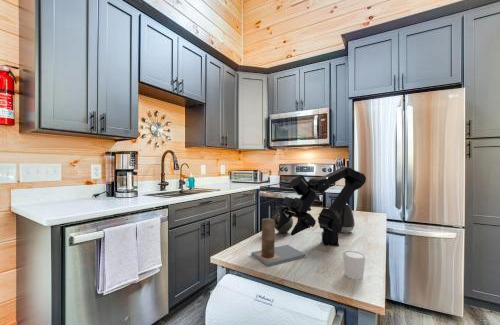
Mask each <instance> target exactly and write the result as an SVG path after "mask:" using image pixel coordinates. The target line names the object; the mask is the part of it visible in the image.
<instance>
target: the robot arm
mask: <svg viewBox="0 0 500 325" xmlns="http://www.w3.org/2000/svg"><path fill="white" fill-rule="evenodd" d="M342 179H344V186H343V187H342V189H341V190H340V192H339V194H338V195H337V196H336V198H335V199H334V200H333V201H332V203H331V205H330V206H329V207H327V208H326V207H323V208H322V210H321V211H320V212H319V213H318V217H317V220H316V219H315V218H314V216H312V215H311V213H309V212H311V211H312V208H311V207H312V205H313V204H314V203H315V201H316V202H320V201H321V198H320V194H317V193H324V192H326V191H327V190H328V189H329V188H330V186H332V185H333V184H334V183H336V182H338V181H340V180H342ZM366 182H367V177H366V175H365V173H362V172H360V171H358V170H355V169H353V168H352V167H349V166H341V167H339V168H338V169H336V170H334V171H332V172H329V173H328V174H326V175H324V176H317V177H313V178H310V179H309V180H308V181H307V179H306V178H305V176H304V175H303V174H299V175H298V176H297V177H295V178H293V179H292V180H291V181H290V182H289V186H290V187H291V189H292V190H293V191H294V192H295V193H296V194H297V195H298V196H300V197H295V198H292V197H288V196H285V197H284V200H283V202H282V205H280V206H279V207H278V208H277V210H278V211H279V213H280V219H279V223H278V226H277V229H278V230H279V229H280V228H282V227H283V226H284V225H285V224H286V223H287V222H289V221H290V218H292V219H293V218H296V219H297V220H296V221H297V222H296V224H295V225H294V226H293V229H291V232H290V234H291V235H290V236H291V237H294V236H296V235H297V234H298V233H300V232H303V231H305V230H306V229H310V228H315V226H316V224H317V223H318V224H319V228H320V229H322V232H321V241H322V242H321V243H323V245H324V246H333V247H335V246H336V247H339V246H340V243H339V233H342V232H341V231H342V226H341V225H340V224H339V214H340V212H341V211H342V209H343V208H344V206H345V205H346V203H347V204H348V201H350V199H351V197H352V195H354V193H355V191H357V190H359V189H361V188H362V187H363V186H364V185H365V183H366ZM285 205H286V206H285ZM316 221H317V223H316Z"/></svg>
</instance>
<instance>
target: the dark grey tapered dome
mask: <svg viewBox="0 0 500 325" xmlns="http://www.w3.org/2000/svg"><path fill="white" fill-rule="evenodd" d="M339 224H340V225H341V226H342V231H341V232H340V233H343V234H344V233H345V234H347V233H350V232H352V231H353V230H354V228H355V225H356V224H355V217H354V213H353V210H352V208H351V206H350V204H348V202H347V203H346V205H345V206H344V208H343V209H342V211H341V212H340V214H339Z"/></svg>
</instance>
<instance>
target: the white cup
mask: <svg viewBox="0 0 500 325" xmlns="http://www.w3.org/2000/svg"><path fill="white" fill-rule="evenodd" d="M342 256H343V265H344V276H346V277H347V278H349V279H352V280H362V279H363V278H364V272H365V264H366V255H365V254H364V253H362V252H359V251H354V250H353V251H352V250H346V251H344V252H343V255H342Z"/></svg>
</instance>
